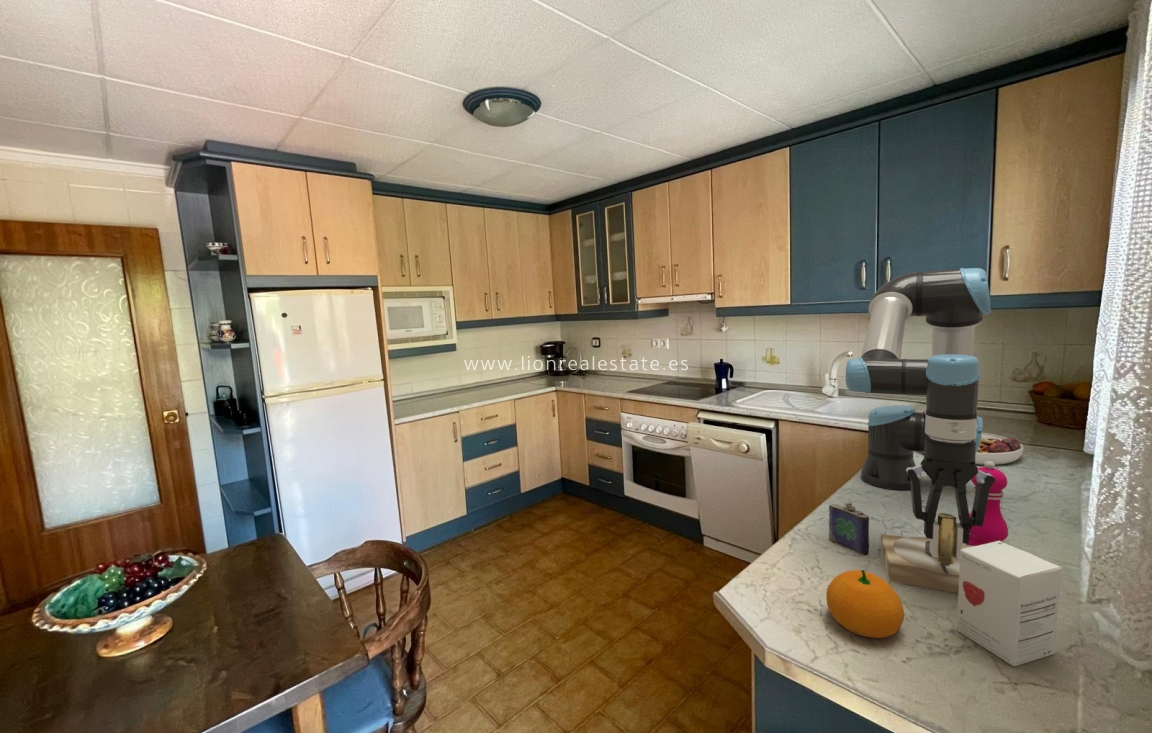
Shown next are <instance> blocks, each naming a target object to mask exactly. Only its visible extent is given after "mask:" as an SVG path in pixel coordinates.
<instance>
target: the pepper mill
mask: <svg viewBox="0 0 1152 733" xmlns="http://www.w3.org/2000/svg"><path fill="white" fill-rule="evenodd" d="M995 467H996V465H995V464H994V463H993V462H991V461H986V462H985V463H984V465H983V466H981V467H977V468H978V470H980V471H982V472H984V473H985V472H988V473H990V474H991V475H992V476H993V477H994V478H995V482H994V483H993V485H992V486H991V488H990V489H989V495H988V500H987V506H986V512H985V518H984V524H983V526H972V529H971V530H970V537H969V543H968V544H967V545H969V546H979V545H983V544H988V543H992V542H996V541H1001V542H1003V543H1005V542H1004V541H1005V540H1006V539H1007V538H1008V537H1009V527H1008V525H1007V523H1006V521H1005V519H1004V516H1003V514H1002V511H1001V500H1002V499H1004V493H1005V492H1004V491H1003V490H1004V489H1006V487H1007V486H1008V478H1007V476H1006V474H1005V473H1004V472H1002V471H1001V470H999V469H997V468H995ZM970 481H971V483H972V484H973V485H974V486H973V491H972V492H973V495H975V491H976V485H977V481H976V475H975V476H974V477H973V478H972V479H971V480H970ZM971 515H972V510H971V511H970V512H969V516H970V517H971Z"/></svg>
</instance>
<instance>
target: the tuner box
mask: <svg viewBox="0 0 1152 733" xmlns="http://www.w3.org/2000/svg"><path fill="white" fill-rule="evenodd" d="M927 541H930V539H928V538H926V536H901V535H893V534H886V533H880V545H879V546H880V553H881V558H882V562H883V564H884V565H883V566H884V568H885V571H886V574H887V578H888V582H889V583H891V582H892V583H897V584H902V585H909V586H915V587H920V588H927V589H932V590H937V591H942V592H949V593H955V594H958V592H959V571H960V561H957V560H956V558H955V562H954V564H951V565H950V566H945V565H940V563H939V561H937V560H936V558H935V557H932V556H930V555H928V554H927V553H926V552H925V543H926V542H927ZM968 547H973V546H969V545H968V544H962V549H964V548H968Z"/></svg>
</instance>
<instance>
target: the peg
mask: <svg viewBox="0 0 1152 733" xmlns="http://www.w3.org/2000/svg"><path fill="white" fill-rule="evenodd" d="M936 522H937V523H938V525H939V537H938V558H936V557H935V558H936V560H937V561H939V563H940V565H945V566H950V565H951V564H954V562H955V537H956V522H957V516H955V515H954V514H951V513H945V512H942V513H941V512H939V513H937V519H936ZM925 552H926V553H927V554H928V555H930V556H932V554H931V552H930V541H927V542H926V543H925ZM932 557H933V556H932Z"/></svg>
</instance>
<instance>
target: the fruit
mask: <svg viewBox="0 0 1152 733" xmlns="http://www.w3.org/2000/svg"><path fill="white" fill-rule="evenodd" d="M826 606H827V608H828V610H829V612H830V613H831V616H832V617H833V618H834V620H835V621H836V622H837V623H838V624H840V625H841V626H842V627H843V628H845V629H847V631H850V632H852V633H853V634H857V635H860V636H862V637H867V638H873V639H874V638H875V639H881V638H882V639H883V638H888V637H891V636H893V635H894V634H896V633H897V632H899V631H900V629H901V626H902V624H903V623H904V621H905V620H904V619H905V610H904V607H903V603H902V599H901V598H900V596H899V595H898V593H897V592H896V591H895V589H894V588H893V587H892V586H891V585H890V584H889V583H888V582H887V581H886V580H884V579H883V578H881V576H878V575H877V574H874V573H872V572H867V571H865V570H864V569H861V570H855V569H853V570H846V571H844V572H841V573H839V574H838V575H836V576H835V577H834V578H833V579H831V581H830V583H829V584H828V585H827V588H826Z"/></svg>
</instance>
